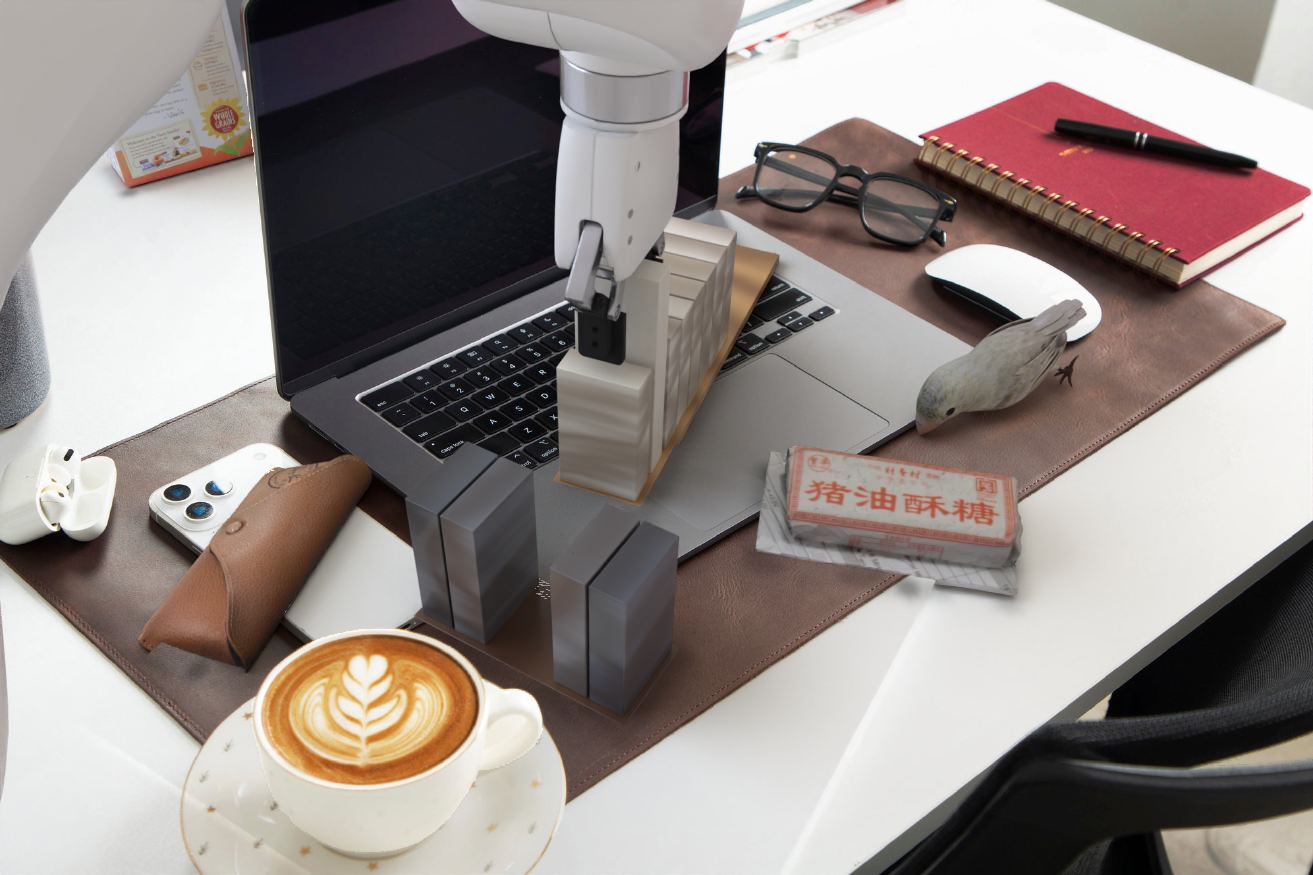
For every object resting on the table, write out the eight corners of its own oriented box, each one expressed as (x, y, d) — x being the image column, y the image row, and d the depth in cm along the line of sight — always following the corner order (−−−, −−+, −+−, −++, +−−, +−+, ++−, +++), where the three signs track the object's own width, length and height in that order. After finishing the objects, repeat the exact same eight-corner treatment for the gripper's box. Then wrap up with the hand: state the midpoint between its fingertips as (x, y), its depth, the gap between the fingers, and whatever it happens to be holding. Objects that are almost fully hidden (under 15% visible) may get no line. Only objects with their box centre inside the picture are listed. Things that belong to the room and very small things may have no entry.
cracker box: (241, 131, 124) (195, -70, 110) (262, 154, 120) (217, -51, 106) (108, 165, 117) (41, -44, 103) (126, 190, 114) (59, -23, 100)
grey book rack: (680, 655, 74) (690, 532, 66) (624, 735, 69) (627, 613, 61) (479, 557, 79) (466, 433, 72) (414, 625, 75) (393, 501, 67)
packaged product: (1023, 452, 82) (1032, 554, 75) (1007, 500, 85) (1014, 602, 78) (773, 417, 84) (758, 513, 77) (767, 465, 87) (752, 561, 80)
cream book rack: (640, 516, 83) (644, 394, 75) (552, 490, 84) (547, 368, 77) (778, 263, 108) (792, 152, 100) (708, 247, 110) (717, 136, 102)
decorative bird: (892, 417, 92) (909, 342, 87) (1033, 355, 99) (1056, 283, 94) (938, 456, 89) (959, 381, 84) (1081, 390, 95) (1108, 316, 90)
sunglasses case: (268, 460, 85) (297, 410, 80) (351, 510, 86) (383, 464, 82) (127, 649, 72) (152, 602, 67) (227, 704, 73) (258, 661, 69)
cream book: (651, 474, 85) (659, 282, 73) (576, 452, 86) (573, 261, 75) (661, 455, 86) (671, 264, 75) (588, 434, 88) (586, 244, 76)
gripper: (620, 16, 73) (617, 255, 85) (499, 131, 61) (515, 390, 73) (731, 36, 71) (712, 277, 83) (629, 159, 59) (624, 420, 71)
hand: (620, 328), depth 78 cm, fingers open, 6 cm apart
